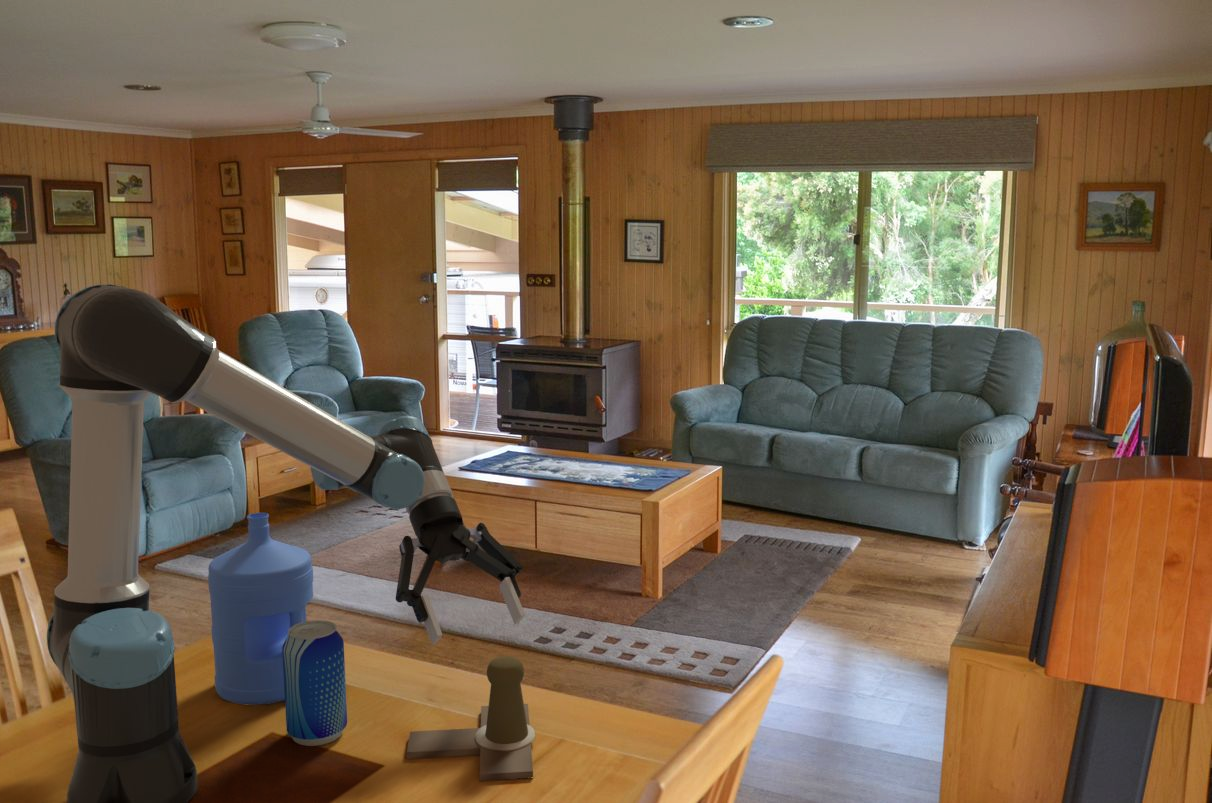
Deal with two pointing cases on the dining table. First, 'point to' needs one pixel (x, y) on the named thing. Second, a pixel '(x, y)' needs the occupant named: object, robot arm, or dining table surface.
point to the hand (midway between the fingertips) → (479, 629)
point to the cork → (506, 702)
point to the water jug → (256, 613)
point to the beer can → (314, 683)
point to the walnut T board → (477, 749)
